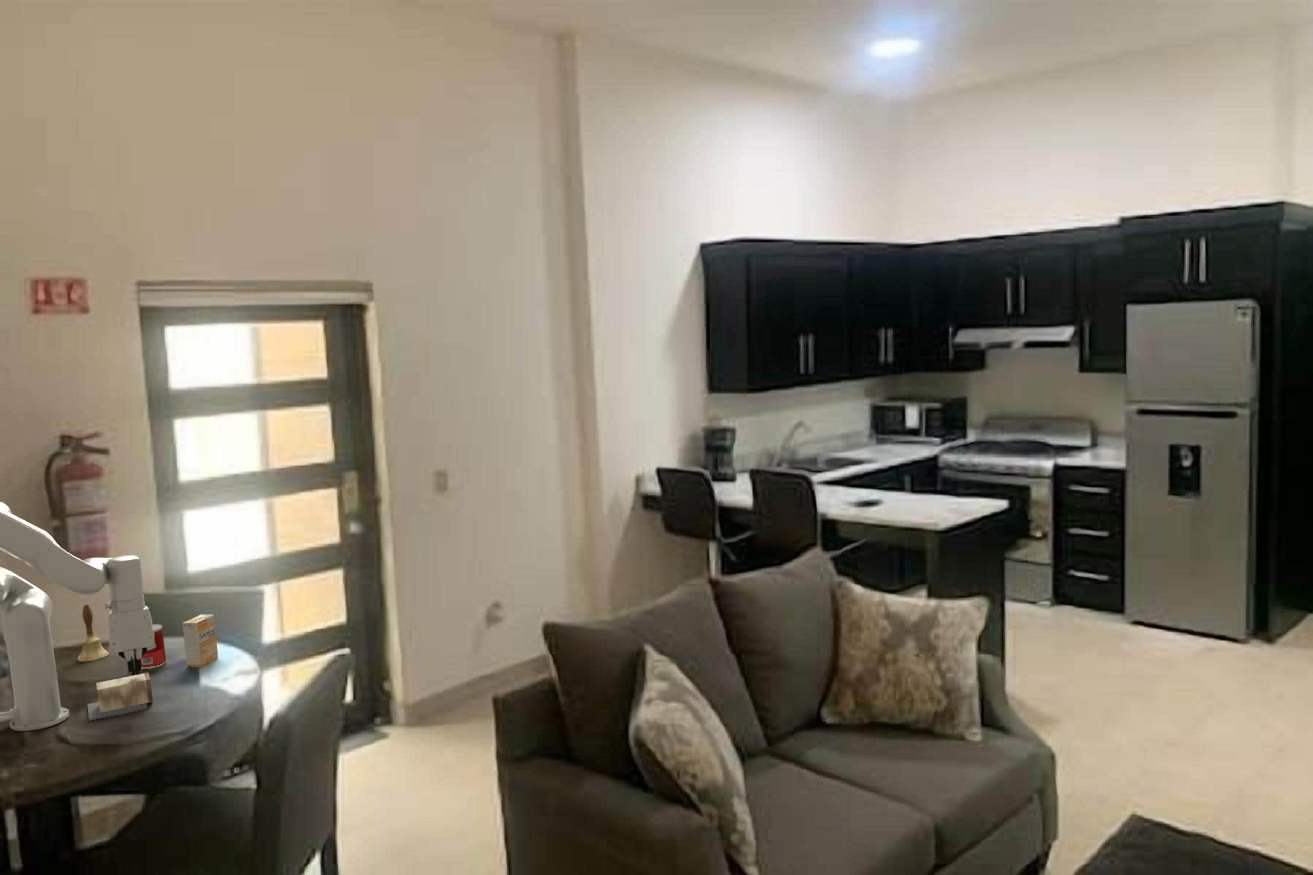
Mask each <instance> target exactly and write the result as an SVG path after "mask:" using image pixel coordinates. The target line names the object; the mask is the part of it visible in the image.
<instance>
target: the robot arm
mask: <svg viewBox="0 0 1313 875" xmlns="http://www.w3.org/2000/svg"><path fill="white" fill-rule="evenodd" d="M0 551H2V552H4V553H6V554H7V555H10V556H12V557H14V558H16V559H17V560H19V561H22V562H23V563H25V564H26V565H28V566H29V567H30V568H32V569H34V571H36V572H37V573H39V574H41V575H42V576H44V577H46V578H47V579H49V580H50V581H52V582H54V583H55V584H57V585H59V586H62V587H63V588H65V589H67V590H69V591H71V592H73V593H77V594H79V595H81V596H93V595H95V594H97V593H99V592H101V591H102V590H103V588H104V587H105V585H108V586H109V596H110V597H109V598H110V601H109V602H106V603H104V609H110V610H111V611H109V613H108V618H107V620H108V621H107V623H108V624H107V626H108V627H107V629H108V630H107V632H108V644H109V651H108V653H109V655H108V656H112V657H121V658H122V659H124V660H125V661H127V662H126V663H127V669H128V670H127V672H128V673H131V676H134V675H139V674H140V671H142V670H141V660H140V659H141V657H142V656H143V655H144V654H145V652H146V651H148V650H151V649H153V648H155V647H156V644H155V642H154V631H153V619H152V615H151V614H152V613H151V611H150V609H149V607H148V606H147V605H145V604H146V603H145V594H144V583H143V573H142V565H141V564H142V563H141V560H140V558H139V557H138V556H136V555H134V554H133V555H131V554H130V555H128V554H127V555H119V556H114V557H90V558H86V559H83V560H82V559H80V558H78V557H76V556H74V555H72V554H71V553H69V552H67V551H66V550H65V549H64V548H62V547H61V546H60V545H59V544H58V543H57V542H56V541H55V539H54V538H53V537H52V535H50V533H49V532H47V531H46V530H44V529H42V528H40V527H37V526H36V525H34V524H32V523H30V522H28V521H26V520H24V519H22V518H21V517H18V516H17V515H14V514H13V513H12V511H11V508H10V507H9V506H8V505H7V504H5V503H4V502H2V501H0ZM52 611H53V603H52V599H51V598H50V596H49V595H48V594H47V593H46V592H44V591H43V590H42V589H40V588H38V587H37V586H36V585H34V584H32V583H30V582H28V581H27V580H26V579H23V577H21V576H19V575H18V574H16V573H14V572H12V571H11V570H9V569H7V568H4V567H2V566H0V614H2V620H1V622H2V623H1V624H2V625H1V626H2V631H3V632H2V633H3V637H4V641H5V644H6V646H5V647H6V651H7V658H8V663H9V664H8V665H9V668H10V677H11V686H12V693H13V699H14V706H13V708H10V709H9V710H8V711H1V712H0V723H4V722H5V723H6V722H8V721H10V723H9V727H10V729H11V730H13V731H17V732H29V731H35V730H40V729H45V728H49V727H52V726H54V725H57V724H59V723H61V722H63V721H65V720H66V719H67V718H69V716H70V712H69V709H68V708H66V707H63V706H62V705H61V695H60V689H59V682H58V681H59V680H58V675H57V674H58V673H57V666H56V659H55V652H54V644H53V639H52V634H51V626H50V617H51V615H52ZM134 649H136V655H135V658H134V657H133V656H132V655H131V653H130V651H133V650H134Z"/></svg>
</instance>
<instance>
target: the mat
mask: <svg viewBox="0 0 1313 875" xmlns="http://www.w3.org/2000/svg"><path fill="white" fill-rule="evenodd" d="M146 708H147V709H148V704H147V703H144V704H140V705H135V706H130V707H125V708H121V709H116V710H111V711H107V712H102V713H100V709H99V701H96V702H91V703H87V711H88V712H87V713H88V722H89V721H90V722H92V721H91V720H94V721H97V720H96V719H99V718H104V719H107V718H106V717H108V716H113V715H117V716H120V715H121V716H122V715H126V714H125V713H127V714H130V713H129V712H131V713H135V712H134V711H136V712H138V711H137V710H141V711H144V710H143V709H145V710H147V709H146ZM113 717H114V716H113ZM108 718H109V717H108ZM99 720H100V719H99Z"/></svg>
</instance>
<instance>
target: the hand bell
mask: <svg viewBox="0 0 1313 875" xmlns="http://www.w3.org/2000/svg"><path fill="white" fill-rule="evenodd" d="M82 608H83V609H82V620H83V623H84V624H85V628H86V629H85V632H86V638H85V639H84V640H82V643H81V644H82V649H81V652H80V654H79V655H78V657H77V659H76V660H77V661H78V662H80V663H87V662H95V661H98V660H101V658H102V659H104V658H106V657H107V656H110V655H109V651H108V650H106V649H105V648H104V647H103V645H102V643H101V640H100V638H99V637H98V636H97V637H96V636H95V635H94V631H93V621H94V620H93V618H94V614H93V611H92V609H91V607H90V604H89V603H88V604H84V605H83V607H82Z"/></svg>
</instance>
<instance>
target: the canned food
mask: <svg viewBox="0 0 1313 875" xmlns="http://www.w3.org/2000/svg"><path fill="white" fill-rule="evenodd" d="M152 625H153V631H154V642H155V644H156V647H155V648H153V649H151V650H148V651H146V652H145V654H144V655H143V656H142V657H141V659H140V660H141V667H150V666H157V665H160V664H162V663H164V662H165V661H166V662H167V657H166V649H165V647H166V646H165V638H164V629H163V625H162V624H158V623H157V624H153V623H152ZM132 652H133V659H134V658H135V655H136V649H134V650H132ZM166 662H165V663H166Z"/></svg>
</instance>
